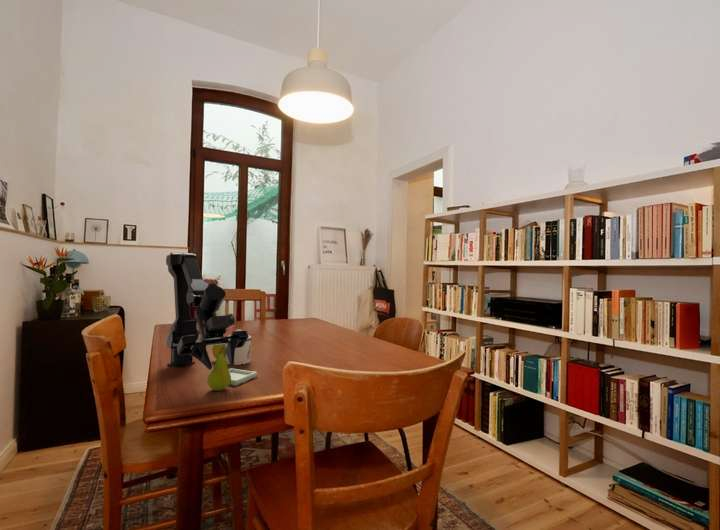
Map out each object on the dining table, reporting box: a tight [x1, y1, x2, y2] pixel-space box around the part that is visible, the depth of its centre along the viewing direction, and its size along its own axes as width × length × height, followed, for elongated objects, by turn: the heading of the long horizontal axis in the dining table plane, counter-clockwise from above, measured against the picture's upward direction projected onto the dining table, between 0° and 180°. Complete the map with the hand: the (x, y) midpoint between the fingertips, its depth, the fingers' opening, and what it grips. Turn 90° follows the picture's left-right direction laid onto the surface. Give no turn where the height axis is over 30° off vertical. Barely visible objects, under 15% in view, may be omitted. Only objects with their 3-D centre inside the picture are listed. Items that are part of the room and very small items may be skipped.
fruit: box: [207, 347, 231, 392], centre depth 103 cm, size 6×6×12 cm
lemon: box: [211, 344, 226, 359], centre depth 134 cm, size 6×6×8 cm
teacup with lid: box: [225, 329, 253, 366], centre depth 134 cm, size 12×9×12 cm
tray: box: [228, 367, 258, 387], centre depth 113 cm, size 10×10×2 cm
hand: (221, 366), depth 102 cm, fingers open, 6 cm apart
